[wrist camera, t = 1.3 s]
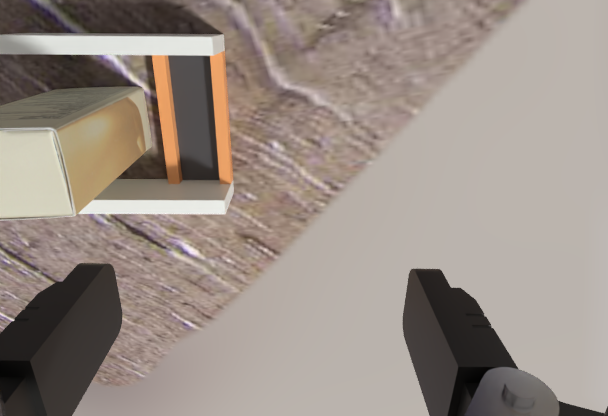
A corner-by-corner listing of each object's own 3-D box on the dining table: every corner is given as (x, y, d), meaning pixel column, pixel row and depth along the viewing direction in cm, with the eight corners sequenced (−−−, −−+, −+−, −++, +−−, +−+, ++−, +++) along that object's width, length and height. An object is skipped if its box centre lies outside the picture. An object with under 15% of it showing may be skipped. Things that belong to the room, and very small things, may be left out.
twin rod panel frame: (29, 32, 27) (-12, 35, 24) (223, 34, 28) (212, 36, 24) (66, 191, 32) (37, 213, 28) (233, 191, 32) (225, 214, 28)
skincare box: (69, 149, 31) (-64, 224, 20) (53, 87, 29) (-103, 130, 18) (158, 147, 31) (77, 221, 20) (148, 85, 29) (52, 127, 18)
